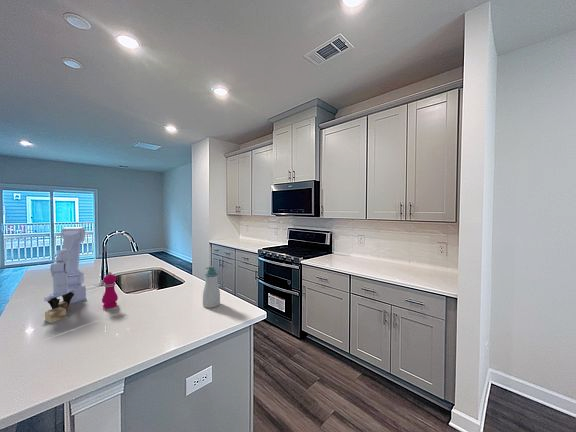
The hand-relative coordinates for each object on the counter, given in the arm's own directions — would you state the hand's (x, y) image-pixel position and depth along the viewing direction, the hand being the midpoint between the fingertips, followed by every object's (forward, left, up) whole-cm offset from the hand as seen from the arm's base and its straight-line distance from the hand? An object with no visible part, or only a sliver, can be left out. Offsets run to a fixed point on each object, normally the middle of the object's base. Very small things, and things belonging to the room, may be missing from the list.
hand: (61, 309), depth 131 cm
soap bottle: (-45, +63, -2) cm, 77 cm away
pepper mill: (-16, +15, -2) cm, 22 cm away
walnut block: (0, 0, -1) cm, 1 cm away
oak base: (+5, +8, -1) cm, 9 cm away
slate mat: (+2, +4, -2) cm, 5 cm away
